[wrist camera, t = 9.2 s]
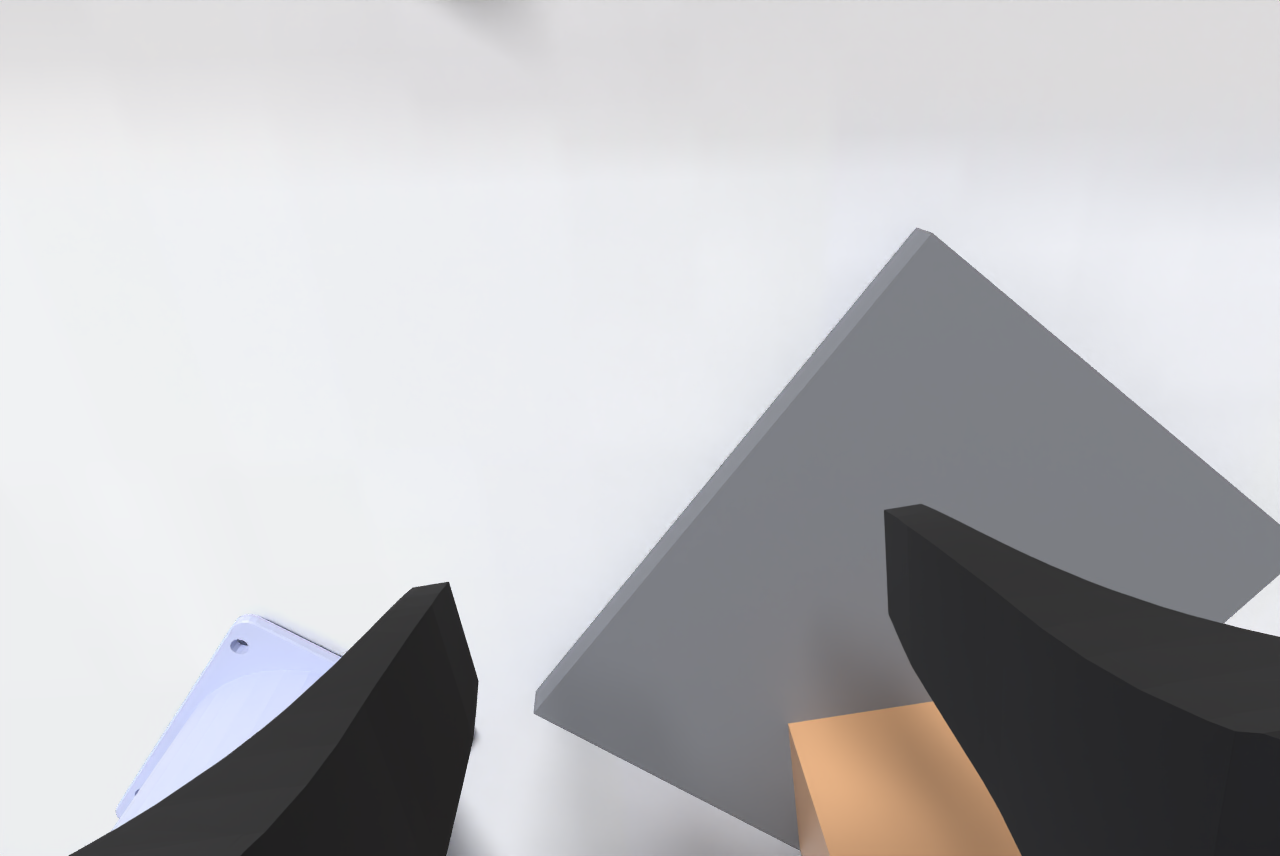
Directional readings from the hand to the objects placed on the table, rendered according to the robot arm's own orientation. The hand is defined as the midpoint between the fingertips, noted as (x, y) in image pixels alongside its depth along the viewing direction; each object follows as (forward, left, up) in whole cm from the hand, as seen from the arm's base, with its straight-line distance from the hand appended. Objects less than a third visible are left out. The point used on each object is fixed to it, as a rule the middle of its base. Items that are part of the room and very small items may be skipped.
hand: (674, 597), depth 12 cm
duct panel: (-1, -11, -9) cm, 15 cm away
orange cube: (-6, -14, -8) cm, 17 cm away
